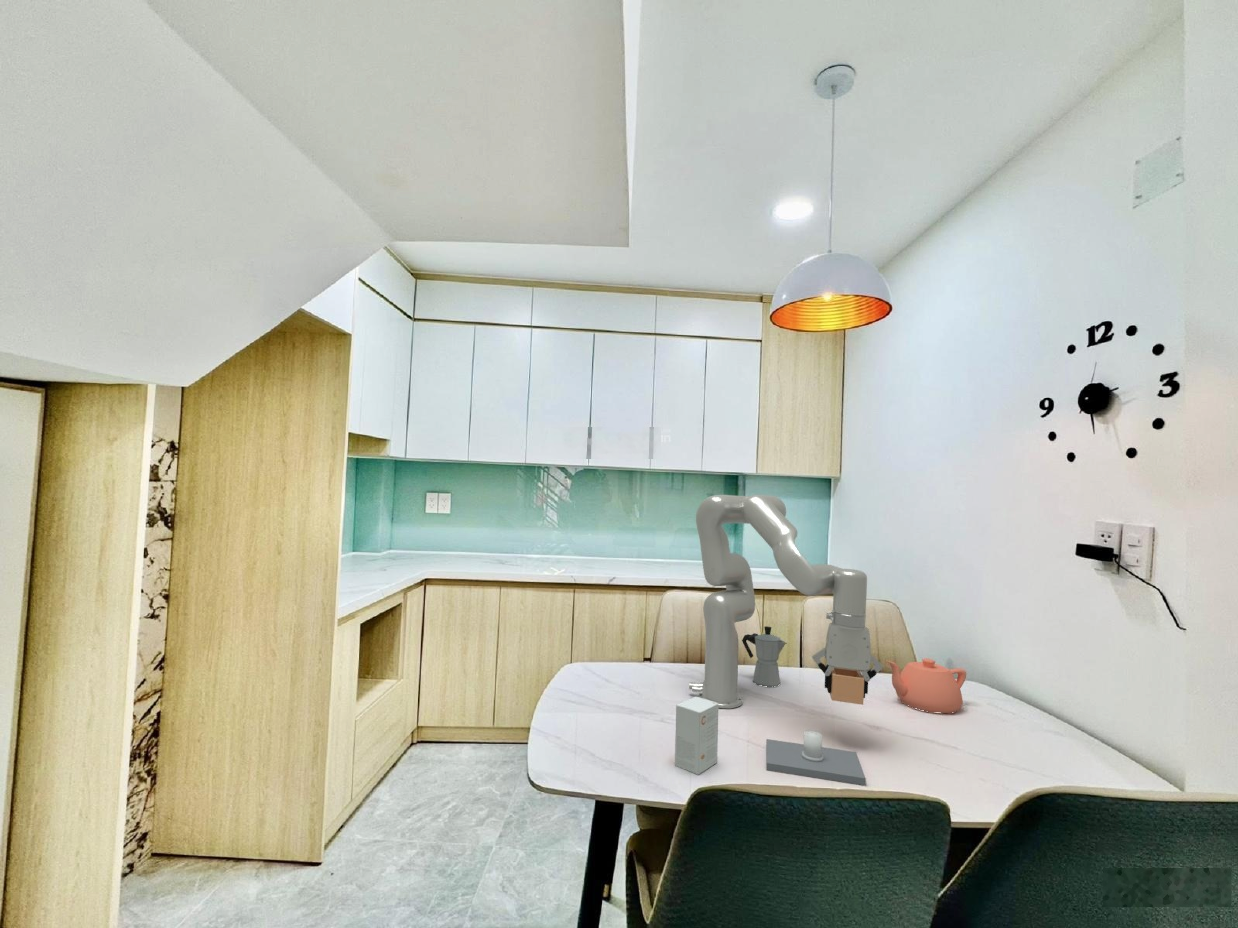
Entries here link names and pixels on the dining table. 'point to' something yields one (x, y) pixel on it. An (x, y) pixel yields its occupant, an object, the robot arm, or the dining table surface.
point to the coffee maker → (765, 657)
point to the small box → (696, 734)
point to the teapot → (929, 686)
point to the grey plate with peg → (814, 760)
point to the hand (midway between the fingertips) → (845, 693)
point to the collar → (847, 686)
